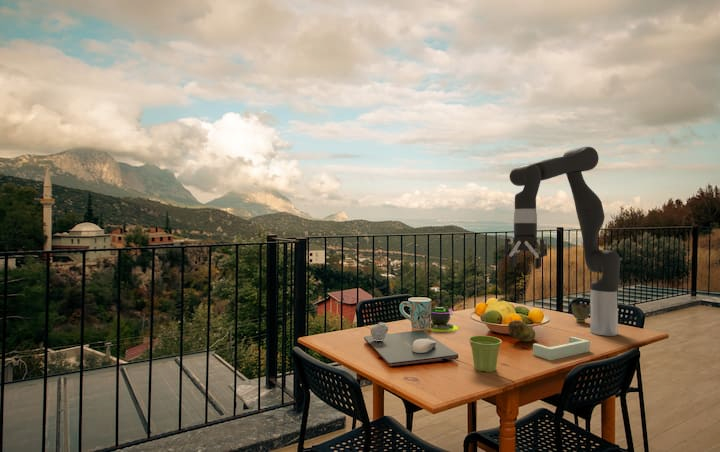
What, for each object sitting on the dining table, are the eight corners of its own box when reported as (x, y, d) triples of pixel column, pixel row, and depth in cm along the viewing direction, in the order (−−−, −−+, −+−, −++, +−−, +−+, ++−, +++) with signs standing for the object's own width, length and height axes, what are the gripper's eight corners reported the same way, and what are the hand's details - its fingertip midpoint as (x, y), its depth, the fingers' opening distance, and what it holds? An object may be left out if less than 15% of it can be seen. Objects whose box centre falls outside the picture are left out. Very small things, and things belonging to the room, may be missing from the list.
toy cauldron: (464, 327, 172) (464, 301, 172) (446, 334, 160) (447, 306, 160) (433, 321, 181) (433, 297, 181) (414, 327, 170) (414, 301, 170)
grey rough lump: (386, 344, 145) (386, 325, 145) (367, 342, 147) (367, 323, 147) (390, 340, 150) (390, 321, 150) (372, 338, 153) (372, 319, 153)
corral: (571, 346, 144) (571, 336, 144) (589, 351, 138) (589, 341, 138) (532, 354, 134) (532, 344, 134) (550, 360, 129) (550, 349, 129)
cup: (574, 323, 178) (574, 305, 178) (568, 320, 185) (569, 302, 186) (593, 324, 177) (593, 306, 177) (586, 320, 184) (586, 303, 184)
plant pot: (483, 376, 114) (483, 345, 114) (462, 365, 123) (462, 337, 123) (508, 371, 118) (508, 342, 118) (486, 362, 127) (486, 334, 127)
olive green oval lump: (545, 342, 148) (545, 320, 149) (516, 346, 144) (516, 323, 144) (528, 337, 156) (528, 316, 156) (501, 340, 152) (501, 318, 152)
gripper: (550, 221, 140) (550, 268, 140) (511, 222, 151) (511, 265, 151) (540, 221, 135) (541, 270, 135) (501, 222, 146) (501, 267, 146)
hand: (525, 268), depth 143 cm, fingers open, 8 cm apart
